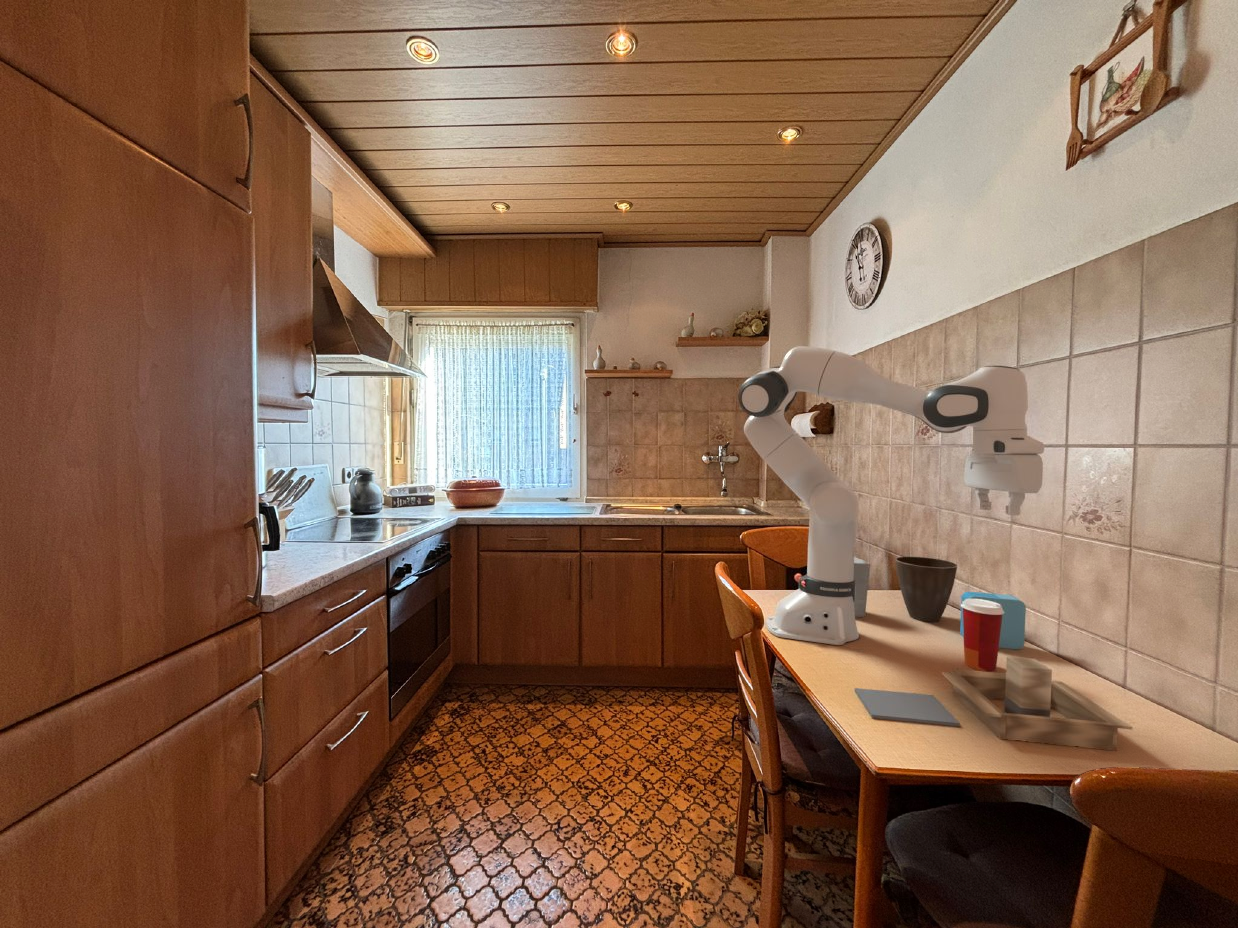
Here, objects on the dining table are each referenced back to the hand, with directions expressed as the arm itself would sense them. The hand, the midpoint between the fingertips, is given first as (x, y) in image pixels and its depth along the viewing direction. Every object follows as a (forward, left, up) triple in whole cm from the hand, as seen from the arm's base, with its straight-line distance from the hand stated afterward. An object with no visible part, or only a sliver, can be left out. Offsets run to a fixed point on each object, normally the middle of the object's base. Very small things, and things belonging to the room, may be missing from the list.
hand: (998, 512), depth 103 cm
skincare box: (-17, +39, -35) cm, 55 cm away
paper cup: (+1, +6, -35) cm, 35 cm away
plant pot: (+3, +39, -35) cm, 52 cm away
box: (-3, -17, -35) cm, 39 cm away
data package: (+11, +21, -35) cm, 42 cm away
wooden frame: (-3, -17, -35) cm, 39 cm away
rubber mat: (-23, -17, -35) cm, 45 cm away
